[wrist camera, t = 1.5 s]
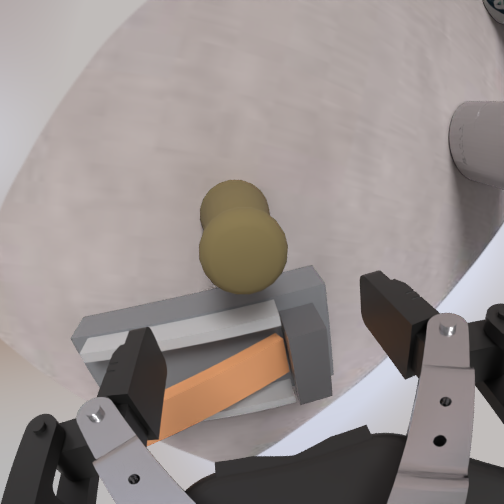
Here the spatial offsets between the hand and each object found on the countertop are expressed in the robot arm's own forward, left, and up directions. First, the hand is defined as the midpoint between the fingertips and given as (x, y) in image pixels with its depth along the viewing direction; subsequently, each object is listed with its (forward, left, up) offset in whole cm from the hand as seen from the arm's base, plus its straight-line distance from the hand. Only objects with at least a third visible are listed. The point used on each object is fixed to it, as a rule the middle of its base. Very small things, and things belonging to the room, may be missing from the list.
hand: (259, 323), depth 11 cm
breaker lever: (+7, +12, -9) cm, 17 cm away
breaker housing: (+6, +12, -17) cm, 22 cm away
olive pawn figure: (0, 0, -17) cm, 17 cm away
